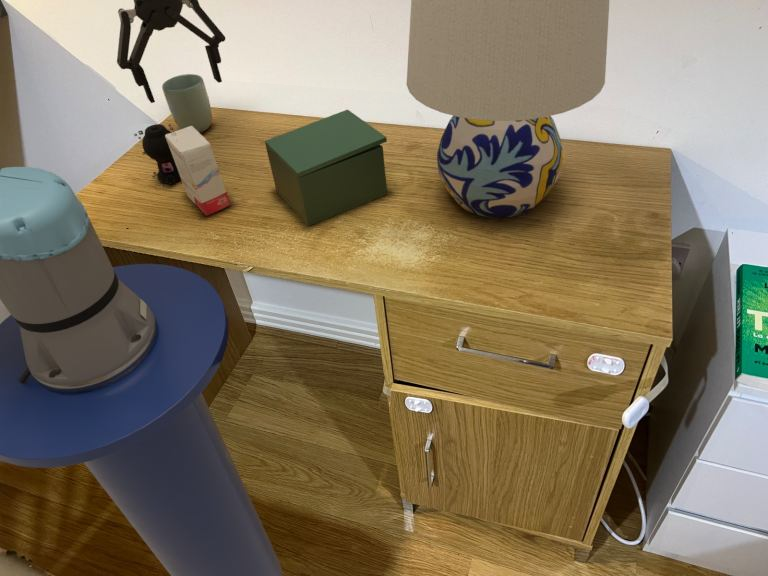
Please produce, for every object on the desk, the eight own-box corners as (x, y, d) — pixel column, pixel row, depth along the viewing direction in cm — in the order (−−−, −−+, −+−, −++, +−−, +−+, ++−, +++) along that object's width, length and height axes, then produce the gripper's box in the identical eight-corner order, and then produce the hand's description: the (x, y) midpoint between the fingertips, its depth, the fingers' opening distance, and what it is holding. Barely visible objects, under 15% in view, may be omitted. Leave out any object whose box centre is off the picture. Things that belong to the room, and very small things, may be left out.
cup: (223, 123, 123) (210, 75, 116) (200, 140, 118) (185, 92, 111) (193, 118, 125) (179, 72, 119) (170, 135, 120) (153, 88, 114)
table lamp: (440, 143, 109) (436, -117, 82) (593, 160, 100) (644, -123, 74) (388, 228, 91) (361, -70, 64) (570, 258, 82) (627, -72, 55)
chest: (350, 163, 106) (344, 118, 100) (387, 194, 98) (382, 146, 92) (276, 191, 101) (265, 145, 95) (308, 226, 93) (298, 178, 87)
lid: (348, 113, 100) (347, 109, 100) (387, 141, 92) (386, 136, 91) (265, 145, 95) (264, 140, 95) (298, 177, 87) (297, 173, 86)
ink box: (232, 206, 99) (213, 142, 91) (203, 218, 97) (181, 154, 89) (212, 185, 104) (192, 123, 96) (185, 196, 102) (162, 133, 95)
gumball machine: (151, 189, 105) (131, 138, 98) (153, 173, 109) (134, 123, 103) (189, 182, 106) (172, 131, 99) (190, 166, 110) (173, 116, 103)
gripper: (209, -48, 109) (237, 66, 123) (69, -16, 100) (117, 102, 114) (222, -40, 104) (251, 77, 118) (77, -7, 95) (126, 116, 110)
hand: (185, 90), depth 116 cm, fingers open, 13 cm apart
